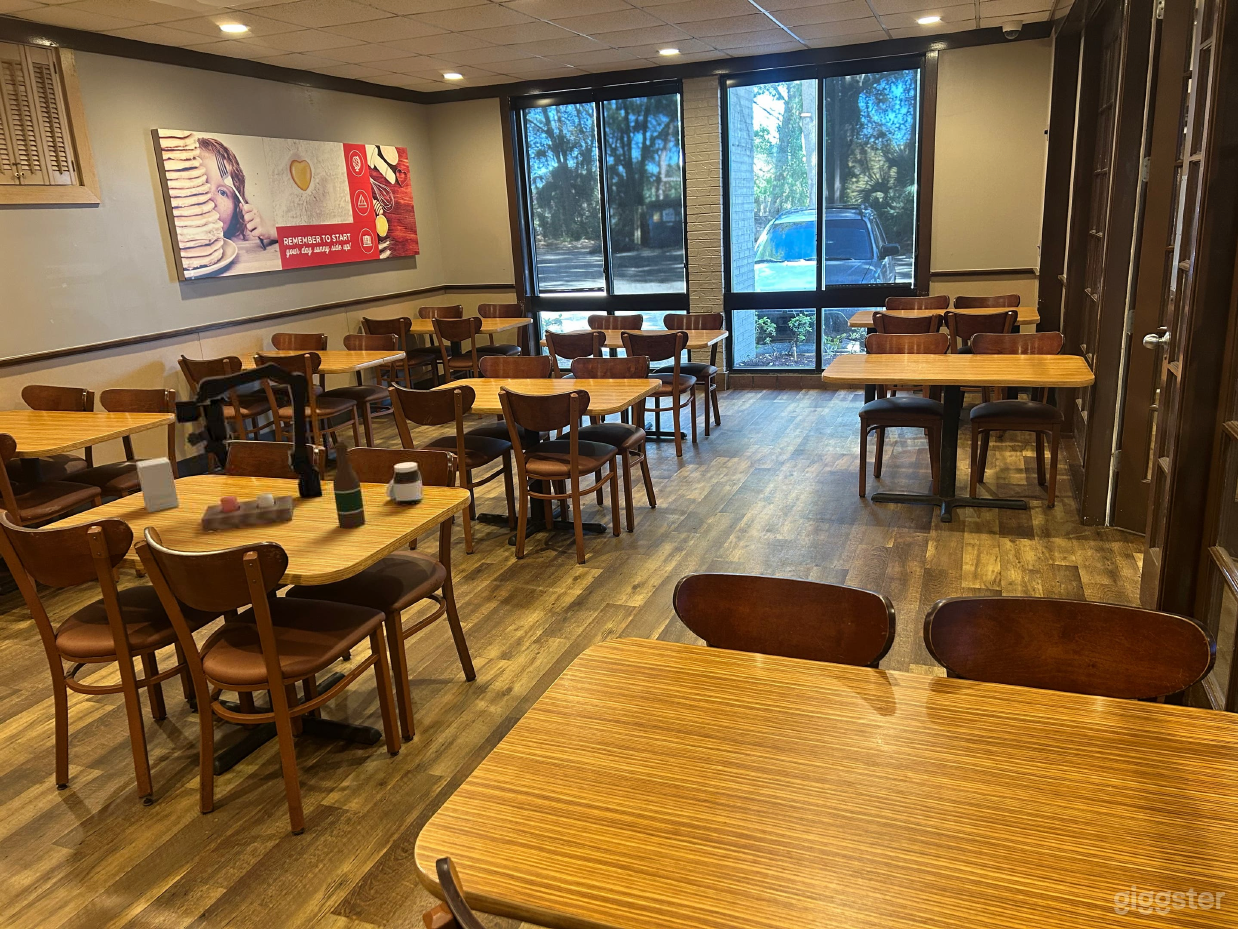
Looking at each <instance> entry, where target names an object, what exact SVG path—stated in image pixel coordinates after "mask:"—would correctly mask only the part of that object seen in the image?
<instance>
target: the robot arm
mask: <svg viewBox="0 0 1238 929" xmlns="http://www.w3.org/2000/svg"><path fill="white" fill-rule="evenodd" d="M268 378H274V379H276V380H278V381H279V382H282V383H284V384H286V385H287V389H288V392H289V395H290V401H291V409H292V410H291V412H292V436H293V438H292V440H293V442H292V443H293V446H292V450H290V449H289V450H287V454H288V460H287V463H288V465H289V467H291V469H292V471H293V472H294V473H295V474H296V475H299V477H298V482H297V487H298V494H299V496H300V499H308V498H309V499H310V498H316V497H322V496H323V493H322V491H324V490H323V489H322V482H321V476H320V471H319V469H318V467H316V465H314V464H313V463H312V462H311V458H310V453H309V449H308V446H307V444H308V443H307V421H306V420H307V419H306V418H307V416H306V400H307V397H308V394H309V393H308V392H309V385H310V382H309V379H308V378H307V377H306V375H304V374H303V373H302V372H300V371H295V372H292V371H290V370H288V369H285V368H283V367H281V366H279V365H277V364H276V363H275V362H268V363H266V364H263V365H260V366H256V367H253V368H249V369H246V370H245V369H244V370H242V371H238V372H235V373H232V374H228V375H217V376H216V375H215V376H208V377H204V378H202V379H200V381H199V383H198V389H199V390H198V391H197V393H196V395H194V397H193V398H194V399H189V400H175V401H174V406H175V415H176V421H177V422H176V423H177V425H182V424H190V423H196V422H197V423H198V422H199V420H200V419H202V413H203V418H204V424H203V428H201V429H199V430H197V431H193V432H190V433H188V435H187V436H186V440H187V443H188V444H189V445H190V446H191V447H192V448H193V447H196V445H198V444H200V443H202V442H205V443H206V444H205V445H204V446H203V450H204V454H213V455H215V458H216V460H217V462H218V464H219V467H220V469H221V470H226V468H227V466H228V460H229V456H230V452H231V449H232V444H233V443H228V441H227V440H230V441H233V440H234V434H233V432H232V431H231V430H228V426H227V424H228V421H227V419H226V416H225V410H224V405H225V404H229V403H230V401H229V399H228V398H226V397H225V396H224V395H223V394H225V393H227V392H228V391H230V390H232V389H234V388H237V387H240V386H245V385H247V384H251V383H254V382H257V381H261V380H265V379H268ZM217 397H218V398H217ZM206 401H209V402H206ZM201 408H202V411H201ZM201 412H202V413H201Z"/></svg>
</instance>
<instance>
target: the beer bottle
mask: <svg viewBox="0 0 1238 929" xmlns="http://www.w3.org/2000/svg"><path fill="white" fill-rule="evenodd" d="M348 448H349V445H348V443H347V442H345V441H344V442H337V443H334V449H335V452H336V453H335V454H336V464H337V465H336V466H337V467H336V468H337V469H336V474H335V475H334V477H333V482H332V485H333V494H334V502H335V508H336V514H337V520H338V525H339V528H341V529H347V528H349V529H354V528H359V527H361V526H363V525H365V524H366V519H365V518H366V517H365V516H366V515H365V509H364V503H363V495H362V487H361V483H360V479H359V477H358V476H357V474H356V472H355V471H354V470H353V468H352V466H351V461H350V455H349V450H348Z"/></svg>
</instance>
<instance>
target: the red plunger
mask: <svg viewBox="0 0 1238 929" xmlns="http://www.w3.org/2000/svg"><path fill="white" fill-rule="evenodd" d="M237 498H238V497H237V495H228V496H224V497H221V498H220V499H219V501H220V505H221V507H222V512H223V513H225V512H233V511H239V509H238V504H237V502H238V499H237Z"/></svg>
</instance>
